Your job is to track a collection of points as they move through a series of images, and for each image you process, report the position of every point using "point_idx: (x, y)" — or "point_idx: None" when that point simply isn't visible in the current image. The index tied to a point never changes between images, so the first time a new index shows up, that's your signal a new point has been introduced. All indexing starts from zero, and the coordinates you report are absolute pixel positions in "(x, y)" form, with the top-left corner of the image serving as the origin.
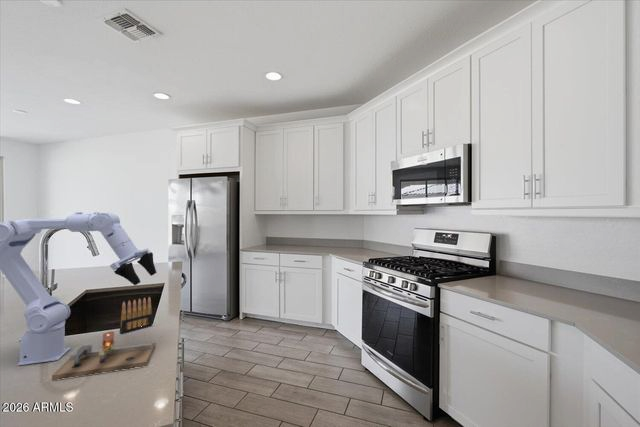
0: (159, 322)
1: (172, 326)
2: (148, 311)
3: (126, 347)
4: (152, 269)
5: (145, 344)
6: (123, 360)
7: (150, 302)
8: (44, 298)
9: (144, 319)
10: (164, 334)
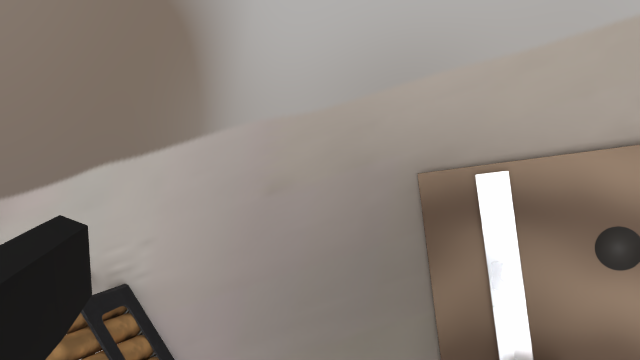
0: None
1: (149, 168)
2: None
3: (517, 305)
4: (25, 293)
5: (495, 205)
6: (634, 279)
7: None
8: None
9: (113, 330)
10: (251, 179)
